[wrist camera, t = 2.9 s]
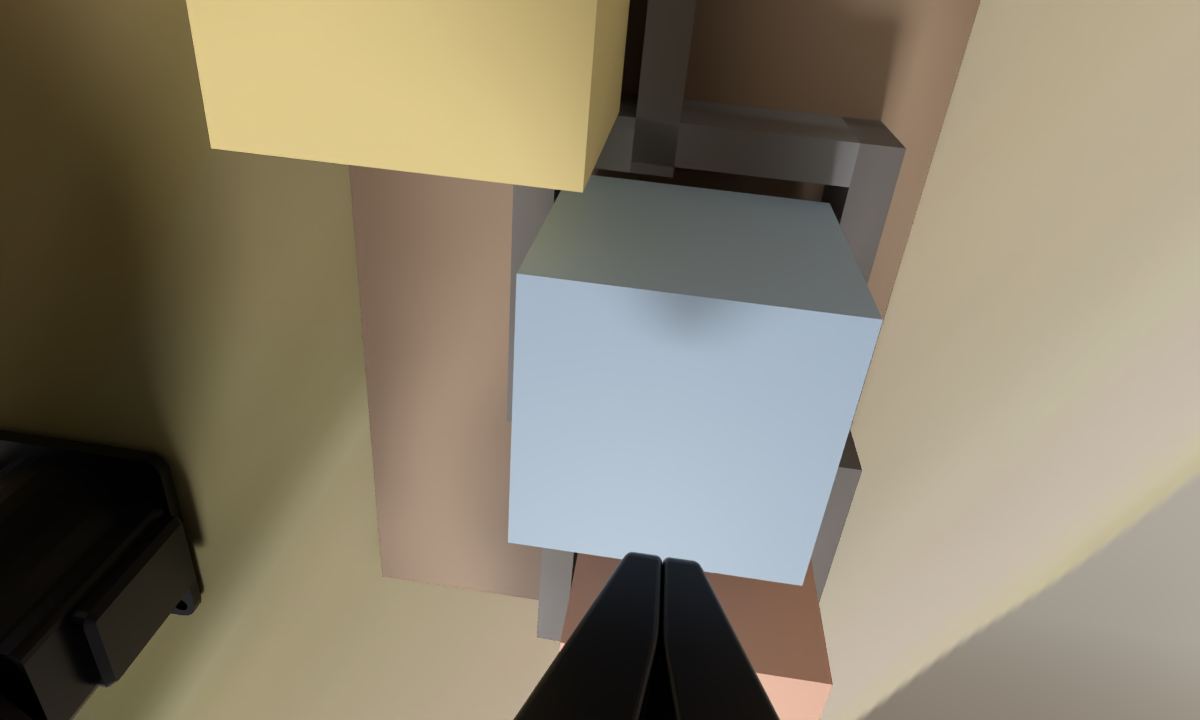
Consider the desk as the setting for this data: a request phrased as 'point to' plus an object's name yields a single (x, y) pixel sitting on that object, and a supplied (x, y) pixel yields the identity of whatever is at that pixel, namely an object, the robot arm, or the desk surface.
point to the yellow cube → (416, 83)
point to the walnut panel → (645, 153)
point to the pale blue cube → (685, 376)
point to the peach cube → (748, 631)
